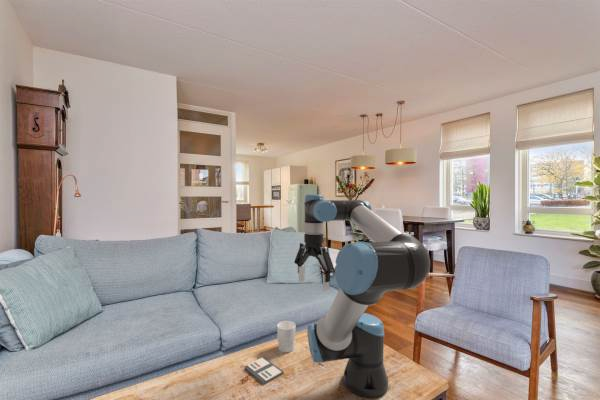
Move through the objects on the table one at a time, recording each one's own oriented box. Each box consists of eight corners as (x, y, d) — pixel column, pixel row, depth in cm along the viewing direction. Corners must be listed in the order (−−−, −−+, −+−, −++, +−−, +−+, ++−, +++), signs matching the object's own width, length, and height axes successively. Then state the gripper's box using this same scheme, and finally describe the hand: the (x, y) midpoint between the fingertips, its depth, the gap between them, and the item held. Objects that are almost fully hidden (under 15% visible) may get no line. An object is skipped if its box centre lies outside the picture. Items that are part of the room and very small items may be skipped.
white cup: (296, 343, 125) (296, 321, 124) (294, 354, 117) (294, 330, 116) (278, 342, 125) (278, 320, 125) (275, 352, 117) (275, 328, 117)
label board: (283, 373, 104) (283, 370, 104) (263, 384, 98) (263, 381, 98) (264, 359, 113) (264, 356, 113) (244, 368, 107) (244, 365, 107)
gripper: (344, 235, 108) (343, 291, 108) (299, 229, 126) (298, 276, 127) (331, 237, 103) (330, 296, 103) (286, 230, 121) (286, 280, 121)
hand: (313, 285), depth 115 cm, fingers open, 13 cm apart
